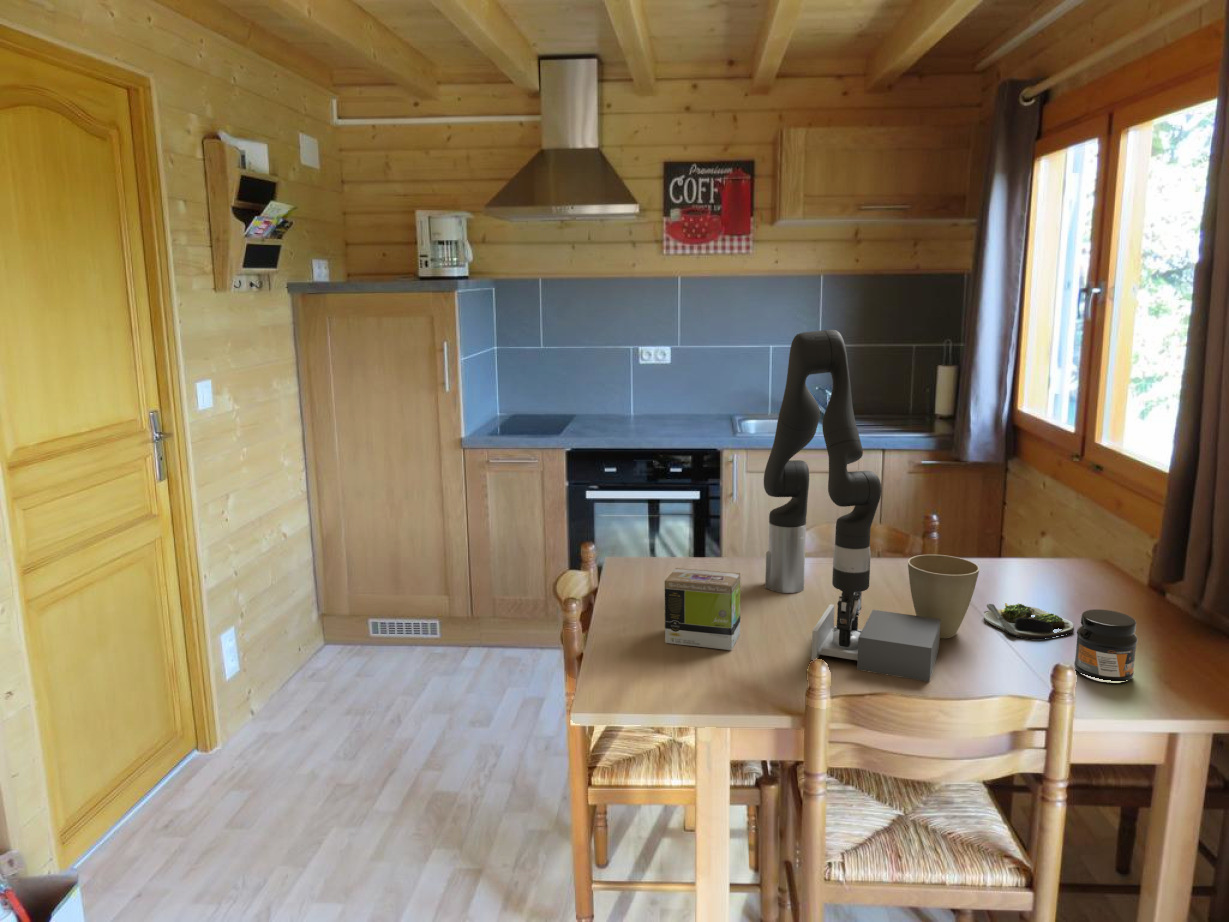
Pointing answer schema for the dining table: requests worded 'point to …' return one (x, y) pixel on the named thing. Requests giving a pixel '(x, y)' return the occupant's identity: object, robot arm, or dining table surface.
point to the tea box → (702, 608)
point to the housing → (899, 645)
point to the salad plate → (1027, 621)
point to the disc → (853, 639)
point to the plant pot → (942, 589)
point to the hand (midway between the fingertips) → (848, 639)
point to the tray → (829, 638)
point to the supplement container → (1106, 645)
